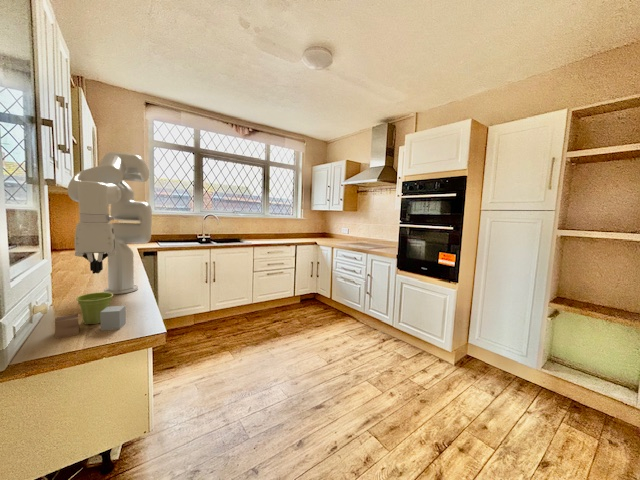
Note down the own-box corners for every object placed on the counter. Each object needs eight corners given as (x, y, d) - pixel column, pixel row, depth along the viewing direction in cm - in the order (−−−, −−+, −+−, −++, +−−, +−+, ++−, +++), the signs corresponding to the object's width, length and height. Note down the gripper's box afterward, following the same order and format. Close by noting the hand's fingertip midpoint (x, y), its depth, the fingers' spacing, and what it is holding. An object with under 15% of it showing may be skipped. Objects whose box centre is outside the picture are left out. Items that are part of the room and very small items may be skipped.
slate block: (107, 324, 87) (107, 306, 87) (125, 323, 89) (125, 305, 88) (100, 330, 83) (99, 312, 82) (119, 329, 84) (119, 311, 84)
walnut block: (56, 332, 80) (55, 316, 79) (78, 328, 83) (78, 313, 83) (55, 339, 76) (54, 322, 76) (78, 334, 80) (78, 318, 79)
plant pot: (106, 313, 95) (106, 290, 95) (118, 320, 91) (118, 295, 90) (72, 322, 87) (71, 296, 87) (84, 329, 83) (83, 302, 82)
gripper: (124, 219, 95) (125, 268, 97) (68, 217, 88) (71, 271, 90) (120, 220, 88) (121, 274, 91) (60, 219, 81) (63, 276, 84)
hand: (96, 272), depth 90 cm, fingers closed
